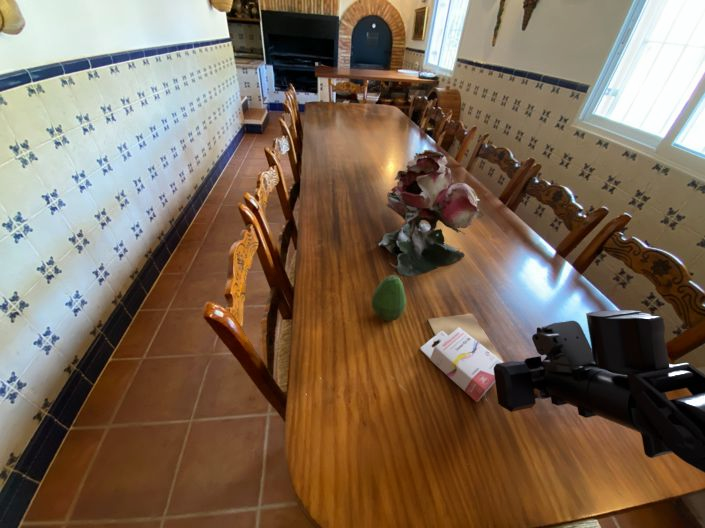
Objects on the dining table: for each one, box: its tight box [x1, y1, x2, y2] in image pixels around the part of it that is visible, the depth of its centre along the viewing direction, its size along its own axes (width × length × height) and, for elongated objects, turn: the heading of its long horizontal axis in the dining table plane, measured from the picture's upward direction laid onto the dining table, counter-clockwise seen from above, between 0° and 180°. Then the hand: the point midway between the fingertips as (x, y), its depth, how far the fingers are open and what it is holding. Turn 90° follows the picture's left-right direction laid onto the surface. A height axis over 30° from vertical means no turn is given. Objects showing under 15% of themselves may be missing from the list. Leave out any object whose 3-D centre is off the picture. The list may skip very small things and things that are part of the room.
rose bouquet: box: [377, 149, 484, 277], centre depth 87 cm, size 26×29×30 cm
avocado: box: [371, 274, 407, 322], centre depth 69 cm, size 8×8×12 cm
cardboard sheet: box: [426, 313, 505, 362], centre depth 67 cm, size 16×12×1 cm
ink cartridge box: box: [420, 327, 505, 403], centre depth 61 cm, size 9×5×15 cm
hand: (515, 364), depth 52 cm, fingers closed
